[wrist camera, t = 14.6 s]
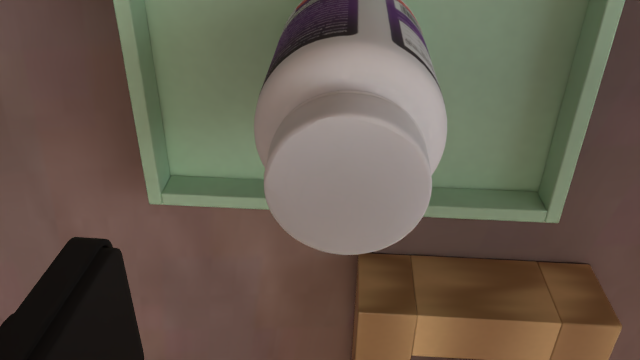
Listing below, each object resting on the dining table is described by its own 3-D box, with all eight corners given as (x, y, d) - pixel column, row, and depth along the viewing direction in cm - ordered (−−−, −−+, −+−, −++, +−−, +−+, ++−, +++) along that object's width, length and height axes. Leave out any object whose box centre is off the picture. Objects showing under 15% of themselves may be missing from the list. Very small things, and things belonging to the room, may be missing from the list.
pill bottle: (272, 101, 23) (221, 257, 14) (293, -37, 20) (245, 59, 12) (402, 126, 23) (426, 294, 15) (442, -6, 20) (499, 110, 12)
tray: (640, -148, 18) (669, -146, 16) (545, 196, 25) (559, 224, 23) (109, -159, 19) (83, -157, 17) (162, 180, 26) (148, 204, 24)
